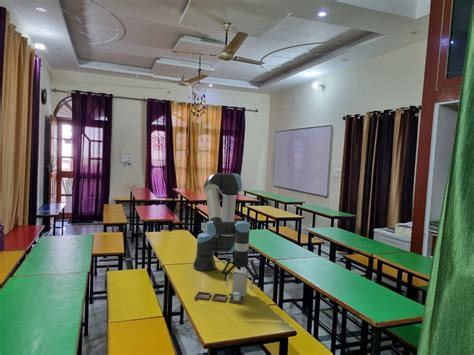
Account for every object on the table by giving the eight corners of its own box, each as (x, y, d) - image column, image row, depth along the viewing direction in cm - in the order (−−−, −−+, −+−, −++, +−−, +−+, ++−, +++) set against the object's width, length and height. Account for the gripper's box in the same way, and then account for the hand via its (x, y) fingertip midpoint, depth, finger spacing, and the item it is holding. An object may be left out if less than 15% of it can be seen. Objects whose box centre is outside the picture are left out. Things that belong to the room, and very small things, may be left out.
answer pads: (201, 287, 193) (201, 287, 193) (247, 292, 189) (247, 291, 189) (198, 292, 185) (198, 292, 185) (245, 298, 181) (245, 297, 181)
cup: (244, 297, 181) (246, 275, 181) (230, 295, 183) (231, 273, 182) (247, 292, 189) (248, 270, 189) (233, 290, 191) (234, 269, 190)
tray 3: (230, 298, 181) (230, 295, 181) (244, 299, 180) (244, 296, 180) (228, 303, 174) (228, 300, 173) (242, 305, 173) (242, 302, 172)
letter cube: (232, 298, 178) (233, 290, 178) (240, 298, 179) (240, 291, 178) (232, 302, 174) (233, 294, 174) (240, 302, 174) (241, 294, 174)
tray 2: (214, 296, 182) (214, 293, 182) (227, 297, 181) (227, 294, 181) (211, 301, 175) (211, 298, 175) (225, 303, 174) (225, 300, 174)
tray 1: (198, 294, 183) (198, 291, 183) (211, 295, 182) (211, 292, 182) (194, 299, 176) (194, 296, 176) (207, 301, 175) (208, 298, 175)
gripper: (217, 249, 183) (215, 288, 184) (263, 253, 179) (261, 293, 180) (220, 246, 190) (218, 283, 191) (264, 250, 187) (262, 288, 188)
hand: (239, 288), depth 186 cm, fingers open, 13 cm apart
